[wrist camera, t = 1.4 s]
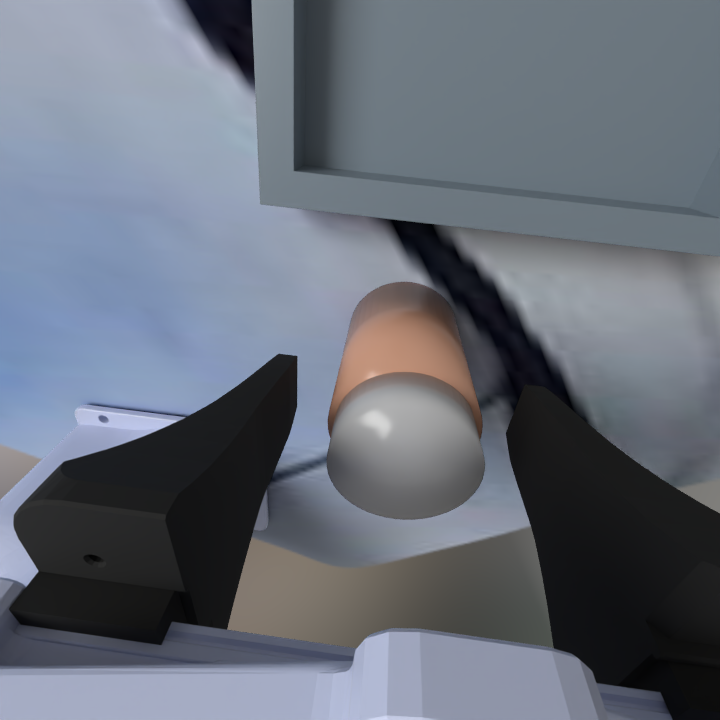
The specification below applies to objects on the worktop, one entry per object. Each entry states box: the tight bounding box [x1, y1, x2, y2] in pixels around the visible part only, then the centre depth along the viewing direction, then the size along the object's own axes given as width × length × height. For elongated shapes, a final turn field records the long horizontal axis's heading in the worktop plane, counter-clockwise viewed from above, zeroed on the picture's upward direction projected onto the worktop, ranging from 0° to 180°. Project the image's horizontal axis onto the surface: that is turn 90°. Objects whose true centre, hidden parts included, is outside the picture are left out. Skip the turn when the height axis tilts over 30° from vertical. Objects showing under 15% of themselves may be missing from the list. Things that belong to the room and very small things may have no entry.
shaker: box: [327, 282, 485, 519], centre depth 13 cm, size 4×4×8 cm
